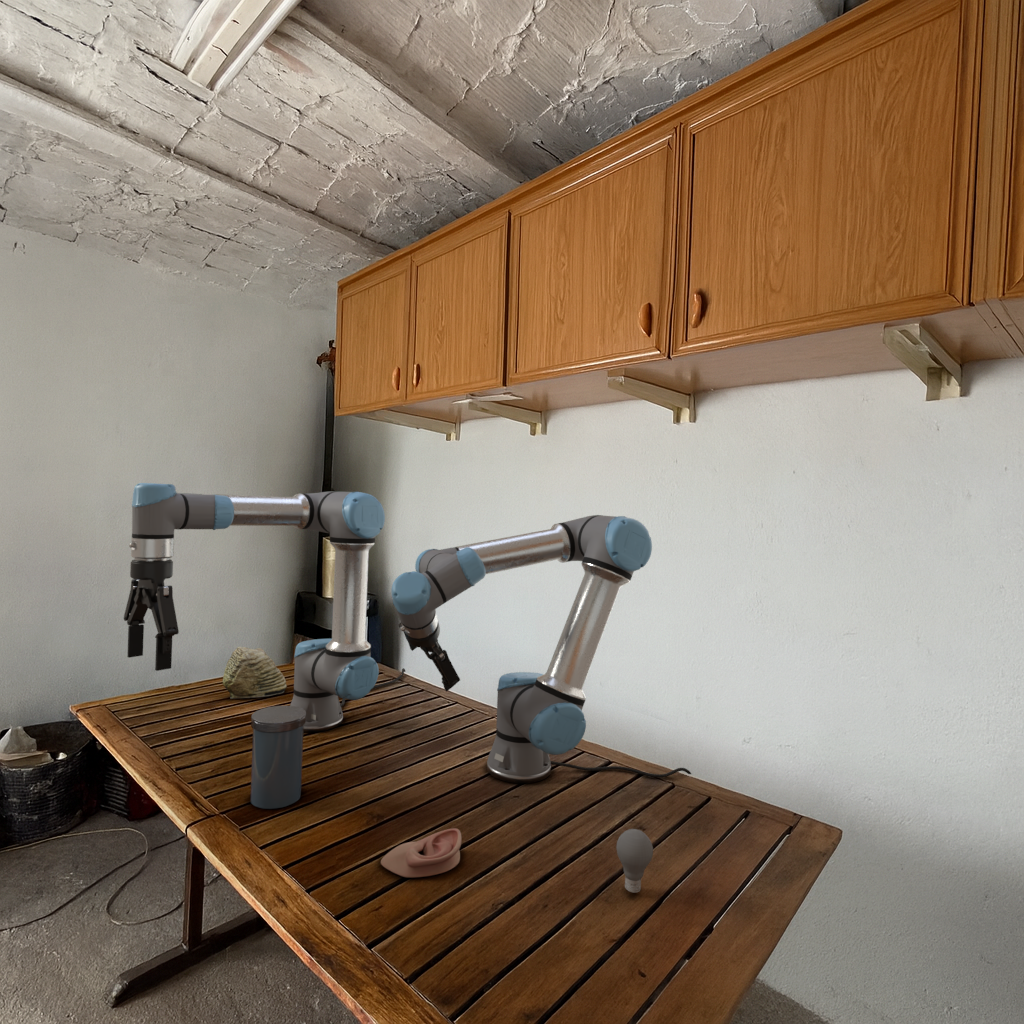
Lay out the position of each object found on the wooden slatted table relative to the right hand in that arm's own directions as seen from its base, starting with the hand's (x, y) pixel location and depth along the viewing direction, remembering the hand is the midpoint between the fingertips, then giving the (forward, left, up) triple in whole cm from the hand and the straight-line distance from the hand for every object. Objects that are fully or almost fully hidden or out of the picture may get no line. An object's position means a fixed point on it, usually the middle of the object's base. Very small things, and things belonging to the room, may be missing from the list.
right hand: (432, 666), depth 150 cm
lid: (+34, +6, -7) cm, 35 cm away
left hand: (+59, 0, +4) cm, 59 cm away
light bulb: (-22, +56, -24) cm, 65 cm away
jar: (+34, +6, -24) cm, 42 cm away
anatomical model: (+10, +37, -24) cm, 46 cm away
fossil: (+41, -66, -24) cm, 81 cm away
